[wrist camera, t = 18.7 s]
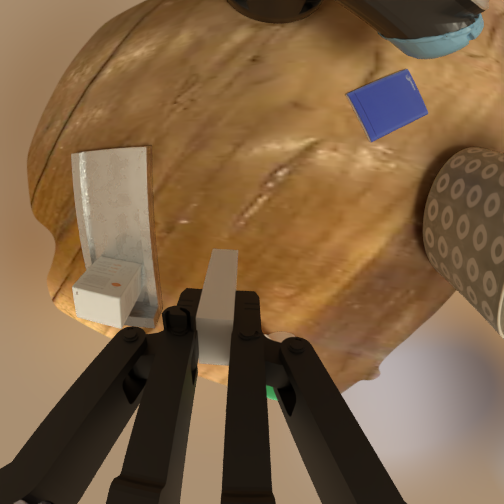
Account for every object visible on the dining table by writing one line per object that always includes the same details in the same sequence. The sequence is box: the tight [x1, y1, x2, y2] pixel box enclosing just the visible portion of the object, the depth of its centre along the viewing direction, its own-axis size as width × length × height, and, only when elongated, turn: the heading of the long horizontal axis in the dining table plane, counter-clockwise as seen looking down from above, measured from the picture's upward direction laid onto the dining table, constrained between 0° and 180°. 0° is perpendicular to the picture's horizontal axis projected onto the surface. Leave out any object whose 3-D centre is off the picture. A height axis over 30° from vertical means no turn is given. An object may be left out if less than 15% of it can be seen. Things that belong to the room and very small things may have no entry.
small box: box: [72, 256, 142, 329], centre depth 40 cm, size 8×6×10 cm
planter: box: [423, 147, 504, 339], centre depth 32 cm, size 25×25×24 cm
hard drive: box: [345, 69, 428, 142], centre depth 35 cm, size 2×8×12 cm
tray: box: [71, 146, 163, 328], centre depth 41 cm, size 28×13×6 cm, turn 177°
